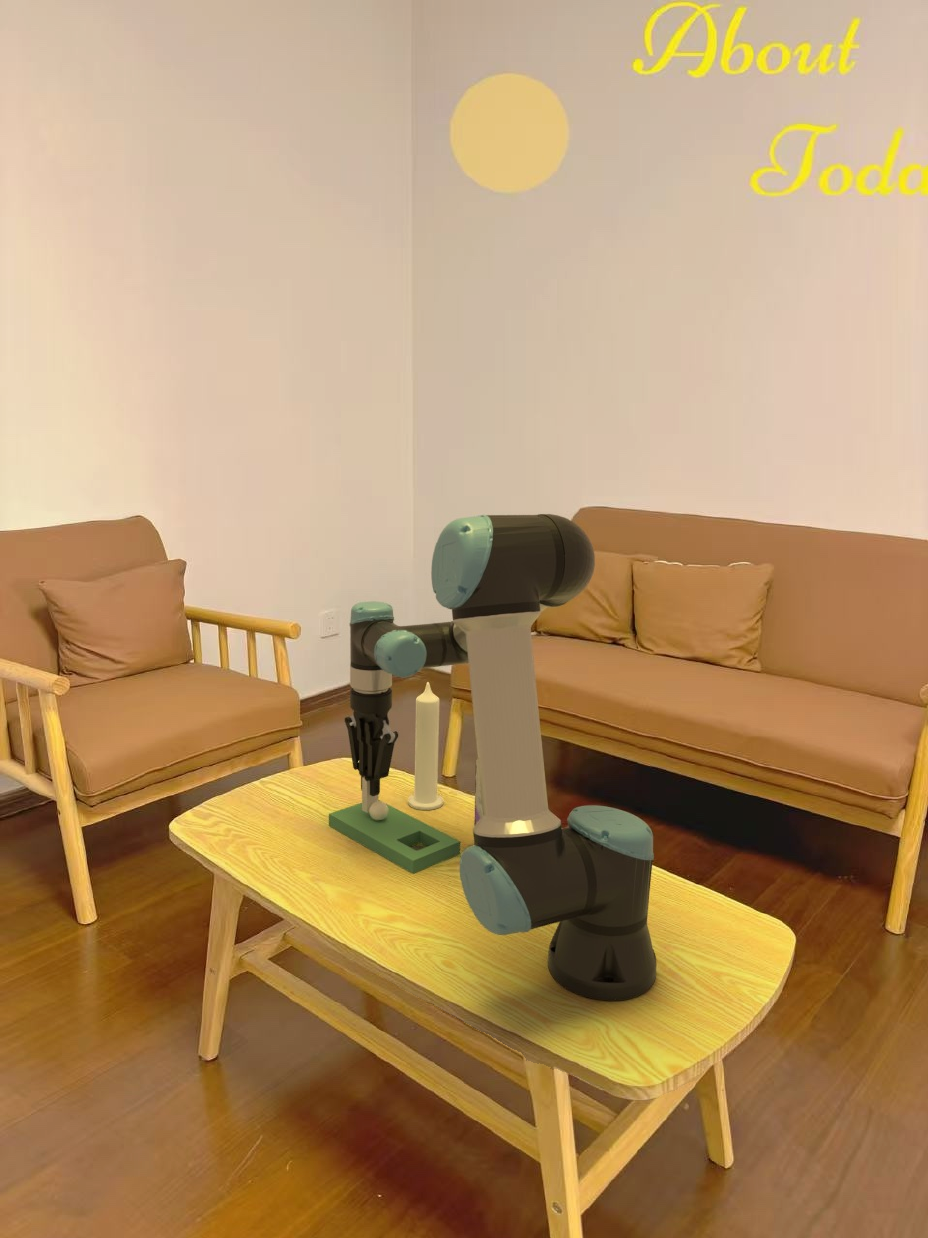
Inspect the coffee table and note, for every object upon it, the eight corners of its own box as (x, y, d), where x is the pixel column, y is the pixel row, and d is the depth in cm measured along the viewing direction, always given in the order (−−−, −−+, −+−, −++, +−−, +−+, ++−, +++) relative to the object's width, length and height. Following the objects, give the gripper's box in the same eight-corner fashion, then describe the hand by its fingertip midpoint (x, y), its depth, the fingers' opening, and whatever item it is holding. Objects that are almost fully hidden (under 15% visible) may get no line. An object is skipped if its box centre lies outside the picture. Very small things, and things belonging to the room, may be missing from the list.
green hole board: (460, 853, 164) (460, 841, 164) (412, 873, 157) (413, 860, 156) (375, 809, 181) (375, 798, 180) (328, 825, 173) (328, 813, 173)
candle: (403, 797, 187) (405, 678, 181) (437, 794, 189) (440, 675, 183) (412, 812, 180) (414, 688, 175) (447, 808, 182) (450, 686, 177)
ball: (381, 816, 173) (393, 818, 171) (366, 821, 171) (378, 824, 168) (379, 797, 173) (391, 800, 170) (364, 802, 171) (376, 805, 168)
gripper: (410, 692, 165) (408, 815, 170) (365, 675, 174) (364, 793, 180) (377, 700, 160) (376, 827, 165) (332, 683, 169) (332, 803, 174)
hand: (370, 809), depth 172 cm, fingers closed
